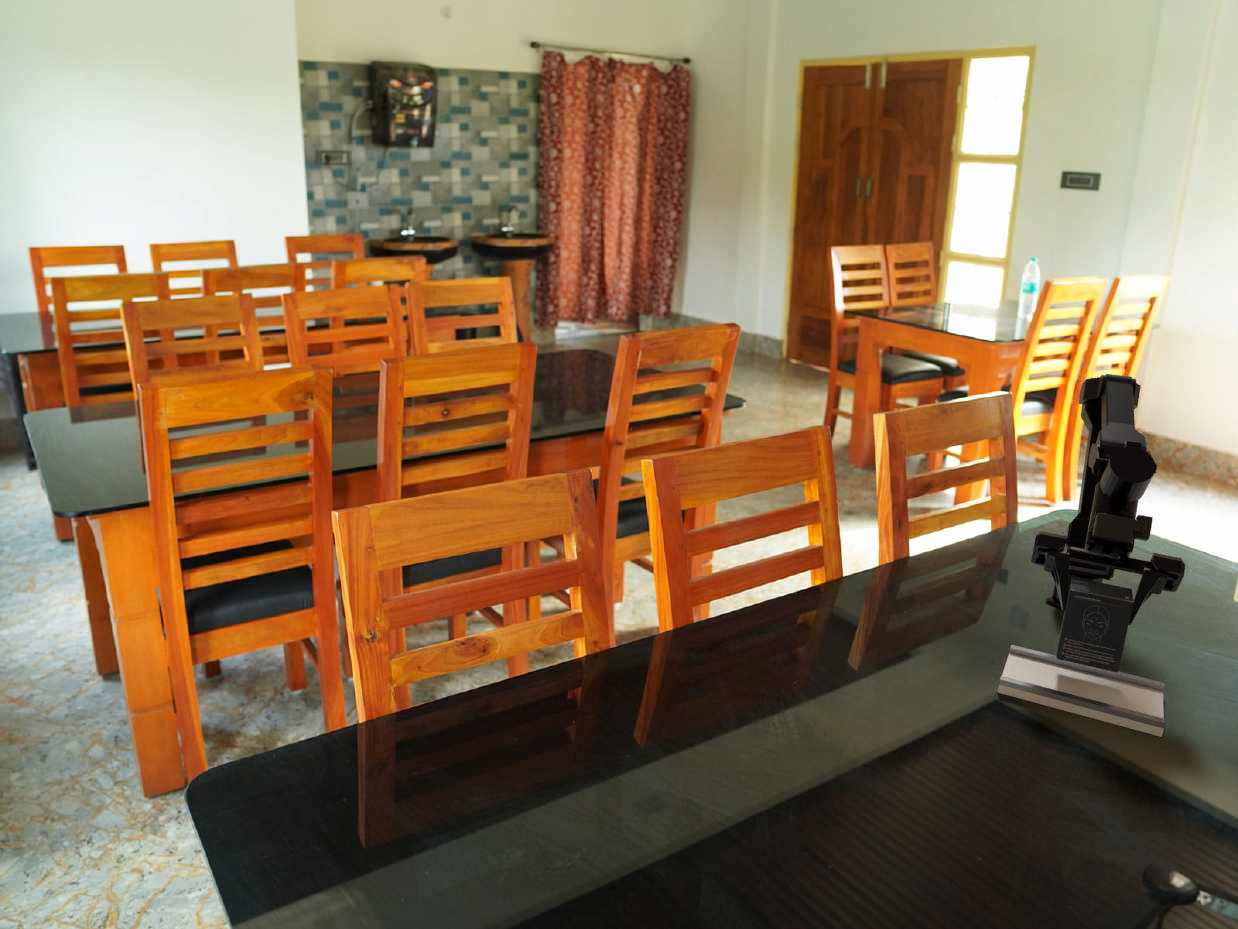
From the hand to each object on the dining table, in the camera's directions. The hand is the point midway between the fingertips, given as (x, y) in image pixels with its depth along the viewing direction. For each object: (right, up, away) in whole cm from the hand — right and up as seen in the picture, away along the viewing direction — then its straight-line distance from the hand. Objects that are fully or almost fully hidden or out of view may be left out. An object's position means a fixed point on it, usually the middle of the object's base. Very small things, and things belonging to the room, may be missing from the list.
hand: (1096, 616), depth 135 cm
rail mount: (-1, -11, +2) cm, 11 cm away
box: (0, -7, +3) cm, 7 cm away
